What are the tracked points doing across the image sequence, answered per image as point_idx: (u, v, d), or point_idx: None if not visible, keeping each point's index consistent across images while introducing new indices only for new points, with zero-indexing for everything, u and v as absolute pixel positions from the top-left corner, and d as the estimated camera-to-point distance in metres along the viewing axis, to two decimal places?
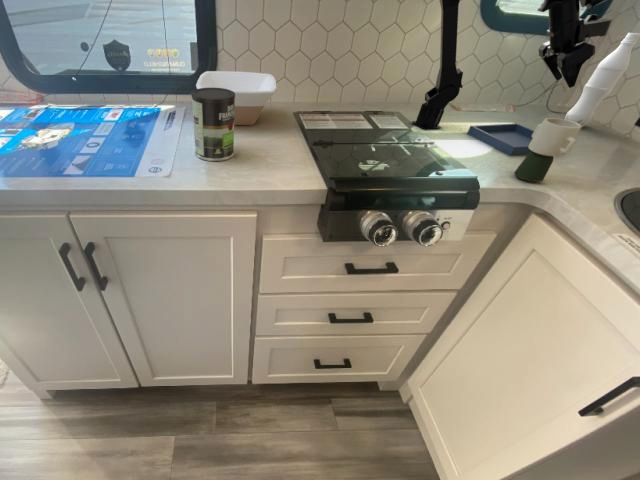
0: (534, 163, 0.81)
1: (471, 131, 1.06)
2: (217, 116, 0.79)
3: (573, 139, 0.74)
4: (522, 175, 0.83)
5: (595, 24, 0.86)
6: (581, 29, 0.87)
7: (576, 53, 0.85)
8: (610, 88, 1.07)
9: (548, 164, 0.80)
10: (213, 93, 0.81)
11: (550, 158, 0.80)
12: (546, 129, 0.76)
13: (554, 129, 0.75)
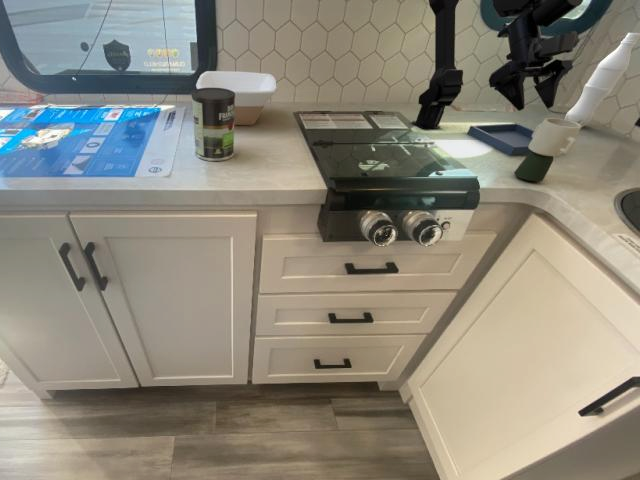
0: (534, 163, 0.81)
1: (471, 131, 1.06)
2: (217, 116, 0.79)
3: (573, 139, 0.74)
4: (522, 175, 0.83)
5: (544, 41, 0.76)
6: (530, 48, 0.78)
7: (497, 71, 0.79)
8: (610, 88, 1.07)
9: (548, 164, 0.80)
10: (213, 93, 0.81)
11: (550, 158, 0.80)
12: (546, 129, 0.76)
13: (554, 129, 0.75)
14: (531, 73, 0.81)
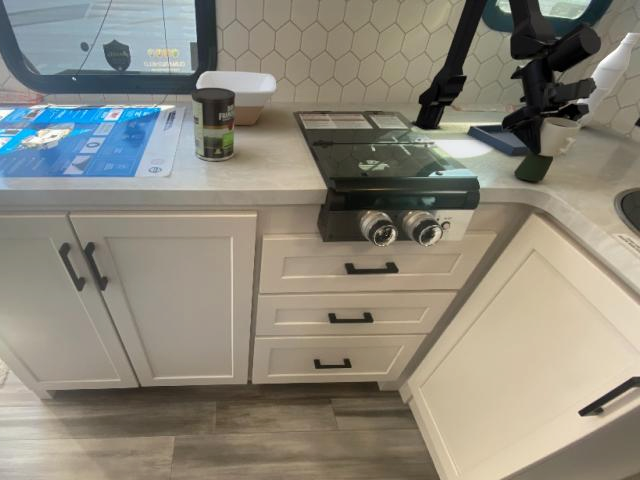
0: (534, 164, 0.81)
1: (471, 131, 1.06)
2: (217, 116, 0.79)
3: (573, 139, 0.74)
4: (522, 175, 0.83)
5: (559, 87, 0.74)
6: (544, 93, 0.76)
7: (510, 115, 0.78)
8: (610, 88, 1.07)
9: (548, 164, 0.80)
10: (213, 93, 0.81)
11: (550, 158, 0.80)
12: (545, 130, 0.76)
13: (553, 130, 0.75)
14: None
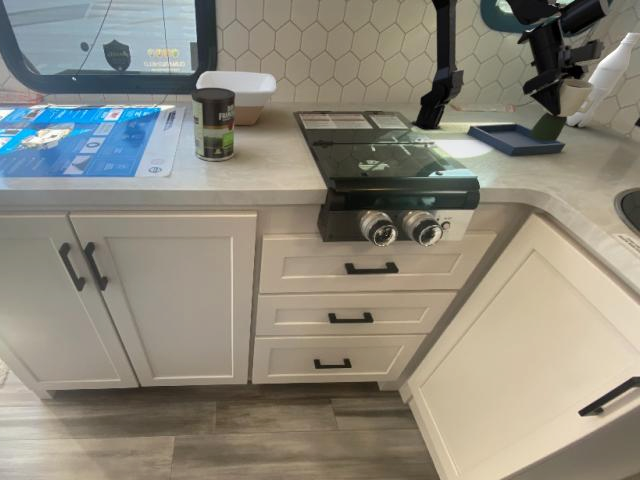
0: (553, 125, 0.86)
1: (471, 131, 1.06)
2: (217, 116, 0.79)
3: (591, 99, 0.80)
4: (541, 137, 0.88)
5: (575, 49, 0.78)
6: (559, 56, 0.80)
7: (533, 79, 0.81)
8: (610, 88, 1.07)
9: (564, 123, 0.86)
10: (213, 93, 0.81)
11: (565, 118, 0.85)
12: (565, 92, 0.81)
13: (574, 92, 0.80)
14: None
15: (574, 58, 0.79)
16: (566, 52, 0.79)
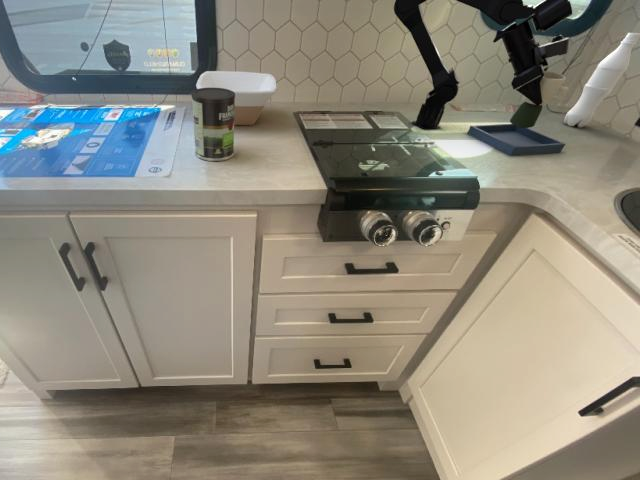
0: (534, 113, 0.95)
1: (471, 131, 1.06)
2: (217, 116, 0.79)
3: (566, 87, 0.90)
4: (523, 125, 0.98)
5: (550, 45, 0.87)
6: (536, 52, 0.89)
7: (522, 75, 0.88)
8: (610, 88, 1.07)
9: (540, 111, 0.96)
10: (213, 93, 0.81)
11: None
12: (546, 84, 0.90)
13: (553, 83, 0.89)
14: None
15: (549, 53, 0.87)
16: (541, 48, 0.88)
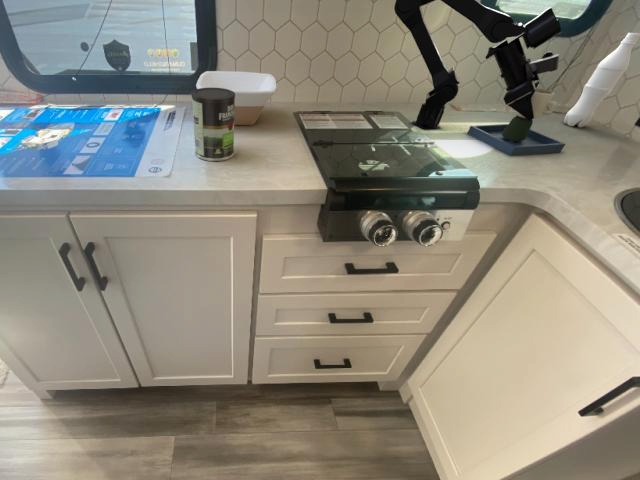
0: (525, 127, 0.98)
1: (471, 131, 1.06)
2: (217, 116, 0.79)
3: (555, 102, 0.93)
4: (515, 138, 1.01)
5: (540, 62, 0.89)
6: (527, 68, 0.91)
7: (514, 91, 0.90)
8: (610, 88, 1.07)
9: (531, 125, 0.99)
10: (213, 93, 0.81)
11: (532, 120, 0.99)
12: (536, 98, 0.93)
13: (543, 97, 0.93)
14: None
15: (540, 69, 0.90)
16: (532, 65, 0.91)
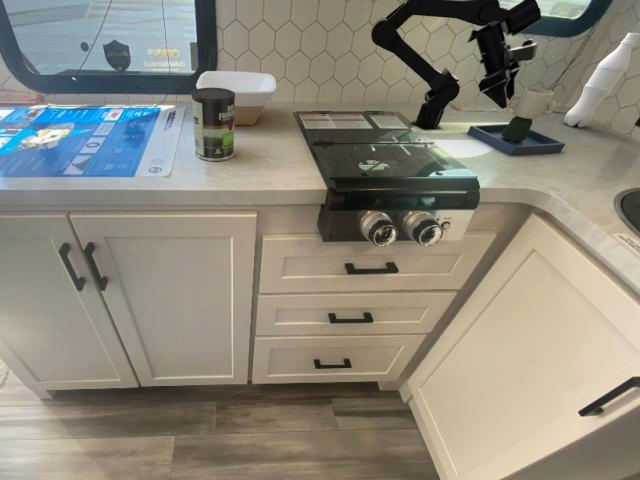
0: (524, 127, 0.99)
1: (471, 131, 1.06)
2: (217, 116, 0.79)
3: (554, 102, 0.93)
4: (515, 138, 1.01)
5: (517, 50, 0.90)
6: (504, 56, 0.92)
7: (488, 78, 0.92)
8: (610, 88, 1.07)
9: (531, 124, 0.99)
10: (213, 93, 0.81)
11: None
12: (535, 98, 0.93)
13: (542, 97, 0.93)
14: None
15: (517, 58, 0.91)
16: (510, 52, 0.92)
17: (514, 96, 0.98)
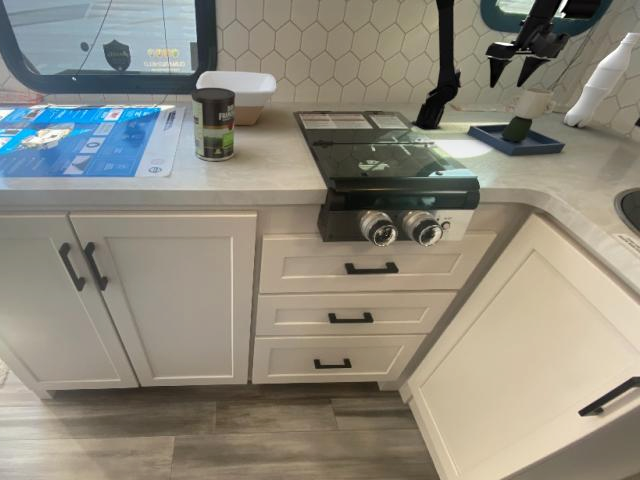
0: (524, 127, 0.99)
1: (471, 131, 1.06)
2: (217, 116, 0.79)
3: (554, 102, 0.93)
4: (515, 138, 1.01)
5: (540, 37, 0.86)
6: (531, 34, 0.87)
7: (495, 46, 0.90)
8: (610, 88, 1.07)
9: (531, 124, 0.99)
10: (213, 93, 0.81)
11: None
12: (535, 98, 0.93)
13: (542, 97, 0.93)
14: (522, 53, 0.92)
15: (534, 45, 0.87)
16: (537, 34, 0.86)
17: (514, 96, 0.98)
